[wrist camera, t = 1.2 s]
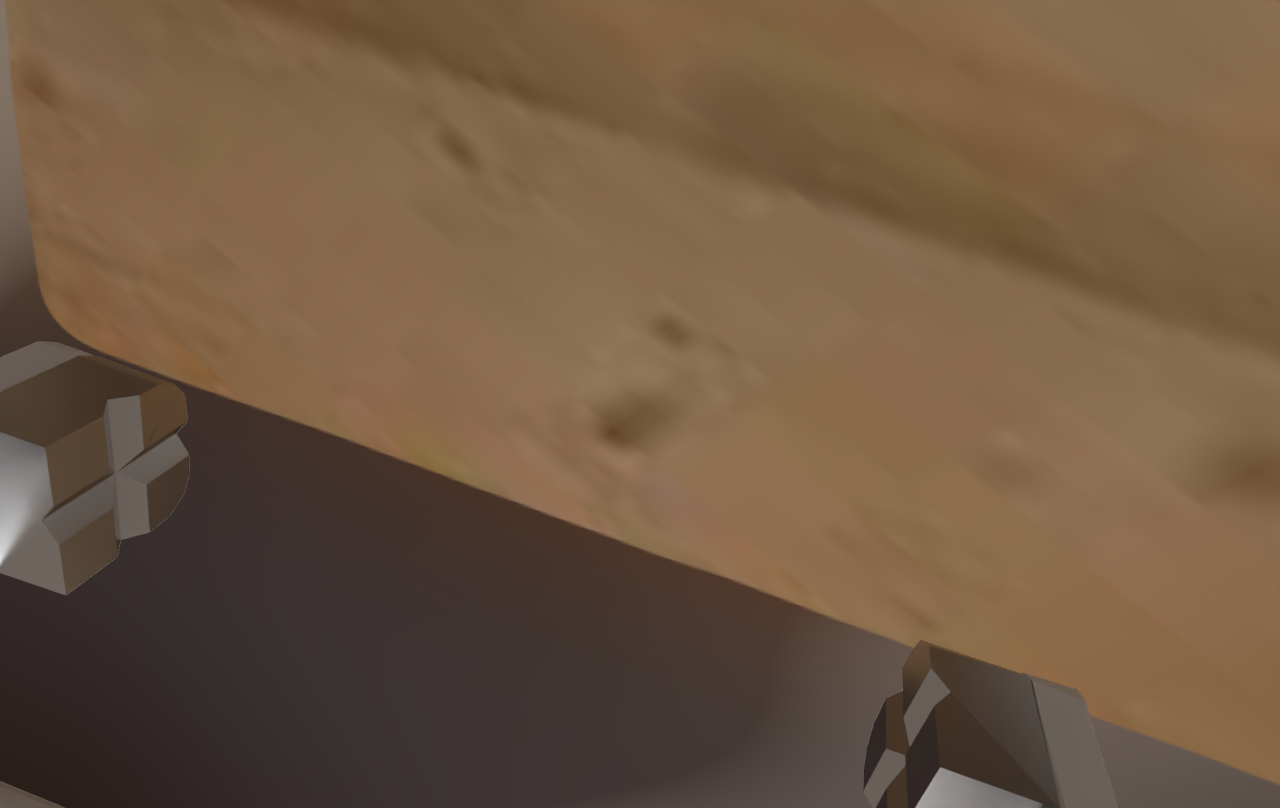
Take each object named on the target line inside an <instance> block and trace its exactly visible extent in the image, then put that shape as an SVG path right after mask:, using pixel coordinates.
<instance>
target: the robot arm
mask: <svg viewBox="0 0 1280 808" xmlns="http://www.w3.org/2000/svg"><path fill="white" fill-rule="evenodd" d="M187 421H188V419H187V409H186V398H185V394H184V393H183V392H182V391H181V390H179V389H178V388H177V387H176V386H175V385H174V384H172V383H169V382H166V381H163V380H160V379H158V378H155V377H153V376H150V375H147V374H144V373H142V372H139V371H136V370H133V369H131V368H128V367H125V366H123V365H120V364H117V363H114V362H112V361H109V360H106V359H103V358H101V357H98V356H92V355H90V354H88V353H86V352H83V351H80V350H77V349H75V348H72V347H69V346H66V345H63V344H60V343H58V342H42V341H38V342H36V343H33V344H31V345H28V346H26V347H24V348H21V349H19V350H17V351H14V352H12V353H9V354H7V355H5V356H2V357H0V573H2V574H5V575H8V576H11V577H14V578H17V579H20V580H23V581H25V582H28V583H31V584H34V585H37V586H40V587H43V588H46V589H49V590H52V591H55V592H58V593H60V594H63V595H67V594H69V593H70V592H71V591H73V590H74V589H75V588H76V587H78V586H79V585H81V584H82V583H83V582H85V581H86V580H87V579H89V578H90V577H91V576H93V575H94V574H95V573H96V572H98V571H99V570H101V568H103V567H105V566H106V565H107V564H109V563H110V562H111V561H112V560H114V559H115V558H116V557H118V552H119V546H120V542H121V540H122V539H126V538H130V537H133V536H137V535H141V534H145V533H149V532H151V531H152V530H153V529H154V528H156V527H157V526H158V525H159V524H161V523H162V522H163V521H164V520H166V519H167V518H168V517H169V516H170V515H171V513H172V512H173V510H174V509H175V507H176V506H177V504H178V503H179V501H180V500H181V498H182V497H183V495H184V493H185V490H186V486H187V482H188V478H189V474H190V471H189V470H190V469H189V454H188V452H187V451H186V449H185V447H184V446H183V444H182V442H181V441H180V439H179V438H178V436H177V434H176V433H177V432H178V431H179V430H180V429H181V427H182V426H183V425H184V424H185V423H186V422H187ZM902 687H903V691H902V692H900V693H898V694H896V695H893V696H891V697H889V698H886V699H885V701H884V703H883V705H882V707H881V710H880V711H879V714H878V716H877V718H876V720H875V722H874V725H873V728H872V731H871V735H870V738H869V742H868V745H867V749H866V756H865V763H864V775H863V792H864V794H865V796H866V797H867V799H868V800H869V802H870V804H871V805H872V807H873V808H1118V805H1117V802H1116V799H1115V796H1114V792H1113V789H1112V786H1111V783H1110V780H1109V776H1108V773H1107V770H1106V767H1105V763H1104V760H1103V757H1102V754H1101V750H1100V747H1099V744H1098V741H1097V738H1096V734H1095V731H1094V728H1093V725H1092V721H1091V718H1090V715H1089V712H1088V708H1087V705H1086V702H1085V699H1084V698H1083V696H1082V695H1081V694H1080V693H1079V692H1078V691H1077V690H1076V689H1074V688H1071V687H1068V686H1064V685H1061V684H1058V683H1055V682H1052V681H1048V680H1045V679H1042V678H1039V677H1036V676H1032V675H1029V674H1026V673H1022V674H1020V673H1017V672H1015V671H1012V670H1009V669H1006V668H1003V667H1000V666H997V665H994V664H991V663H988V662H985V661H982V660H979V659H976V658H973V657H970V656H967V655H964V654H961V653H958V652H955V651H952V650H949V649H946V648H943V647H940V646H937V645H934V644H931V643H928V642H925V641H922V640H920V641H919V642H918V644H917V645H916V646H915V647H914V648H913V649H912V650H911V652H910V654H909V656H908V657H907V660H906V661H905V663H904V665H903V667H902ZM0 808H64V807H62V806H59V805H57V804H54V803H52V802H50V801H47V800H45V799H42V798H40V797H37V796H35V795H32V794H30V793H27V792H25V791H23V790H20V789H18V788H15V787H13V786H10V785H8V784H5V783H3V782H0Z"/></svg>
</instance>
